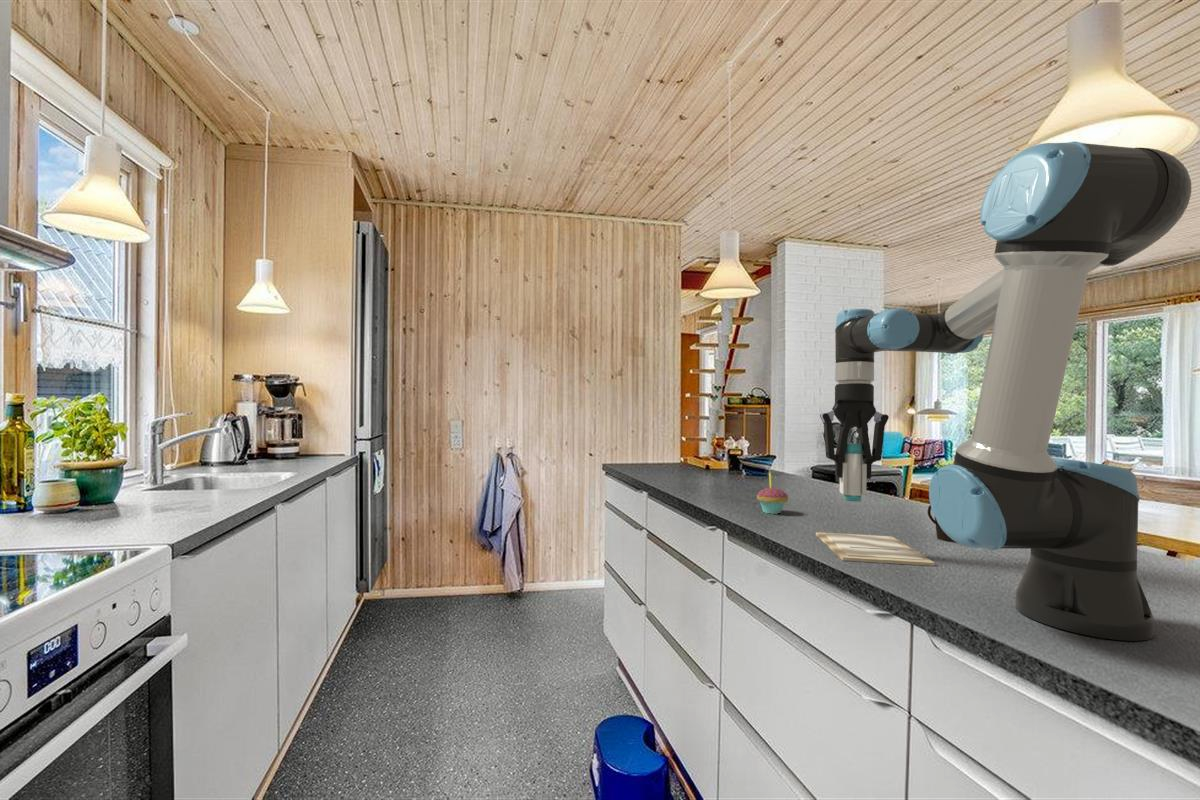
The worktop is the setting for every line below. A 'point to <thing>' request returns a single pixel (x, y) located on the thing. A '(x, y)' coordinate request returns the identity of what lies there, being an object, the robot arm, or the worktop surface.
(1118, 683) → the worktop surface
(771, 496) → the cupcake
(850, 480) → the marker
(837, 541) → the wooden board
